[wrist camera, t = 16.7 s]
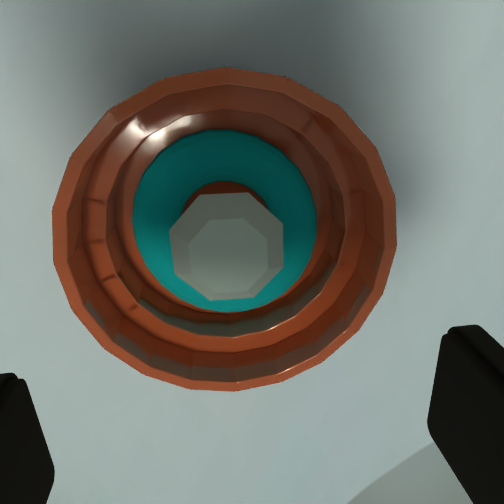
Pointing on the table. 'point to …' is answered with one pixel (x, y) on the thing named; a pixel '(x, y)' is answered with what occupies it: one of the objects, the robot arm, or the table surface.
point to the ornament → (224, 221)
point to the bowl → (244, 120)
